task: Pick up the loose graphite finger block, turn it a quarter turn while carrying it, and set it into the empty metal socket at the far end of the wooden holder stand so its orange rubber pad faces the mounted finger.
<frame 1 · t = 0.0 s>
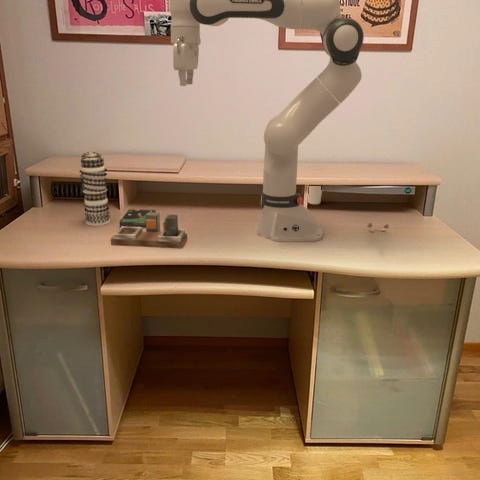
hand: (186, 85, 151), 48 cm above the table, tool pointing down, fingers open, 8 cm apart
disk drive: (138, 222, 175), on the table
diorama: (379, 242, 159), on the table
finger: (153, 233, 163), on the table
decorative candle: (98, 222, 173), on the table
wooden holder stand: (149, 241, 155), on the table
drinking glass: (313, 203, 199), on the table
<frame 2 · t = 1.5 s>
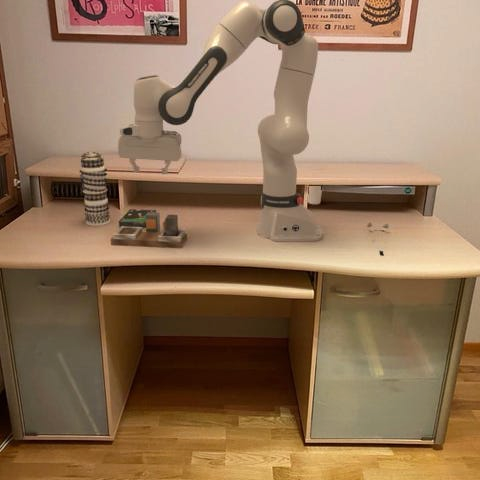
hand: (150, 172, 155), 21 cm above the table, tool pointing down, fingers open, 8 cm apart
nothing on the table moved.
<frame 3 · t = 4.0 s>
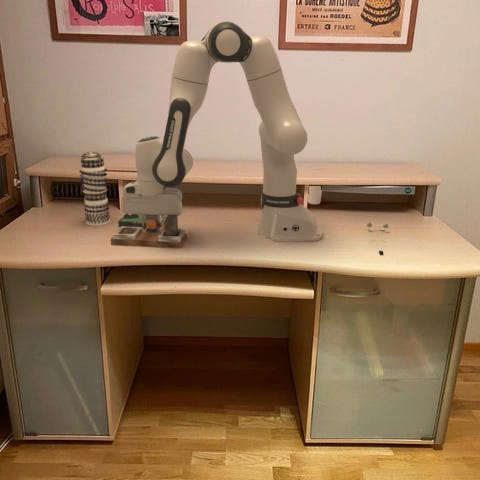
hand: (153, 226, 162), 2 cm above the table, tool pointing down, fingers closed on finger, 4 cm apart
finger: (153, 233, 163), on the table, touching gripper
everything else where it was.
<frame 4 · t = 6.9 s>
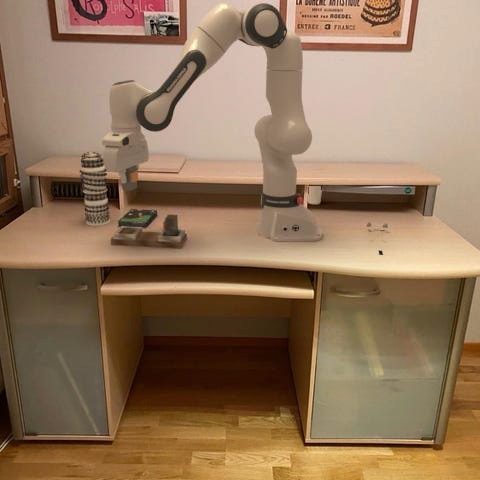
hand: (129, 180, 150), 20 cm above the table, tool pointing down, fingers closed on finger, 4 cm apart
finger: (129, 188, 151), point 17 cm above the table, touching gripper
everything else where it was.
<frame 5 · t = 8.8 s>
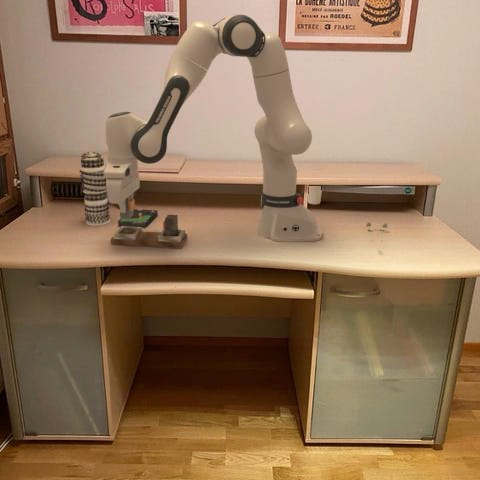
hand: (126, 209, 152), 11 cm above the table, tool pointing down, fingers closed on finger, 4 cm apart
finger: (126, 216, 153), point 8 cm above the table, touching gripper
everything else where it was.
when the fingers open (6 cm above the table, at t = 10.1 s): finger drops 1 cm, resting on wooden holder stand.
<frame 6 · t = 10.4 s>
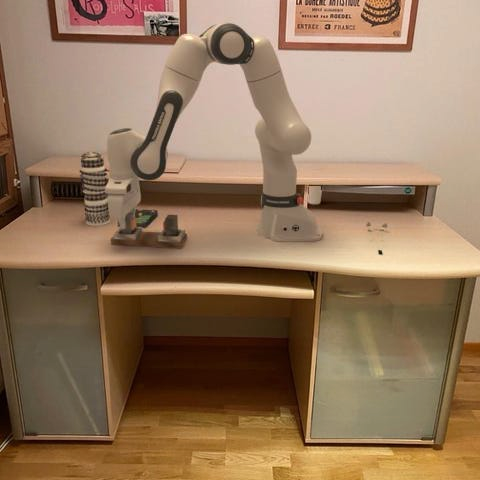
hand: (127, 223, 154), 6 cm above the table, tool pointing down, fingers open, 7 cm apart
finger: (128, 235, 155), point 2 cm above the table, touching wooden holder stand
everything else where it was.
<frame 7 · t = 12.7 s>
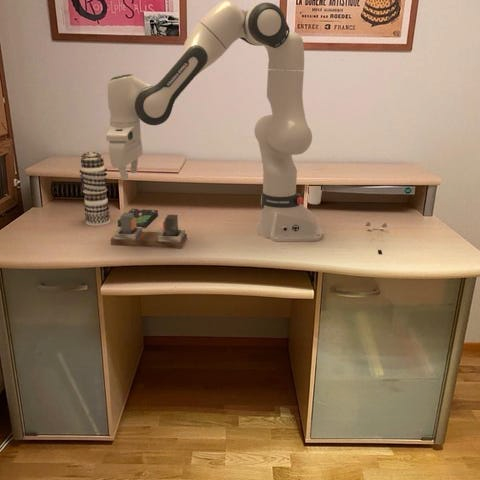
hand: (129, 175, 150), 21 cm above the table, tool pointing down, fingers open, 8 cm apart
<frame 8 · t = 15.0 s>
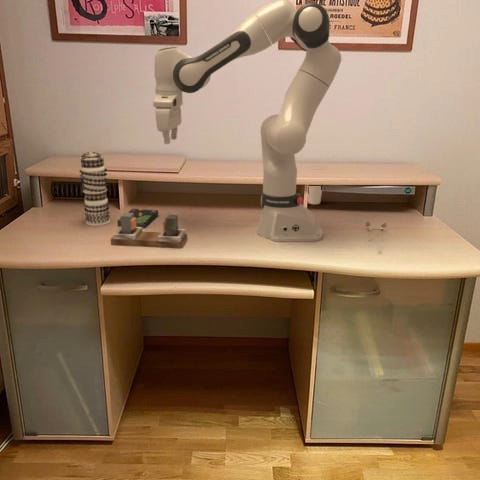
hand: (170, 141, 164), 29 cm above the table, tool pointing down, fingers open, 8 cm apart
at the end: finger 0.1 cm from the target spot on the wooden holder stand, point 2.0 cm above the wooden holder stand's base; finger tilted 0°; the gripper is holding nothing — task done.
